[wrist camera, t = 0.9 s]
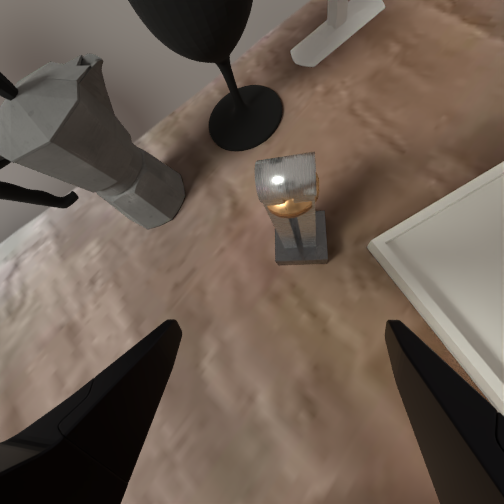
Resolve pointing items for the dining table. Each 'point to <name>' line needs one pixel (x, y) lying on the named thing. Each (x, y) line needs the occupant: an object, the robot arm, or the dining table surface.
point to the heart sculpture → (335, 29)
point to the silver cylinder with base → (293, 208)
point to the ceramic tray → (457, 274)
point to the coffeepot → (81, 144)
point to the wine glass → (216, 51)
